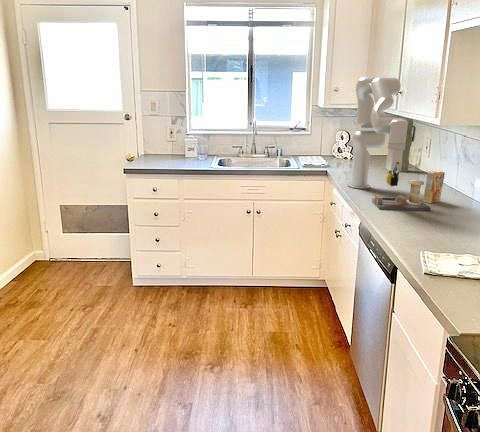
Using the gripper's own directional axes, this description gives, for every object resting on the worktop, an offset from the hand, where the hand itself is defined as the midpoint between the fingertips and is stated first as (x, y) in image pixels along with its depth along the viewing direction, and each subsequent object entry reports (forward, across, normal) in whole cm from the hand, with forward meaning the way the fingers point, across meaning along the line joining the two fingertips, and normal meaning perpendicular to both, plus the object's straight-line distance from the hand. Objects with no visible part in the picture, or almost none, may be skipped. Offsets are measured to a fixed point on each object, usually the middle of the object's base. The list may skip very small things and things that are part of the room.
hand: (391, 183), depth 219 cm
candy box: (+11, -11, +24) cm, 29 cm away
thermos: (+11, -91, +32) cm, 97 cm away
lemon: (+2, 0, 0) cm, 2 cm away
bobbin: (+10, 0, +12) cm, 15 cm away
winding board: (+11, 0, +6) cm, 12 cm away
